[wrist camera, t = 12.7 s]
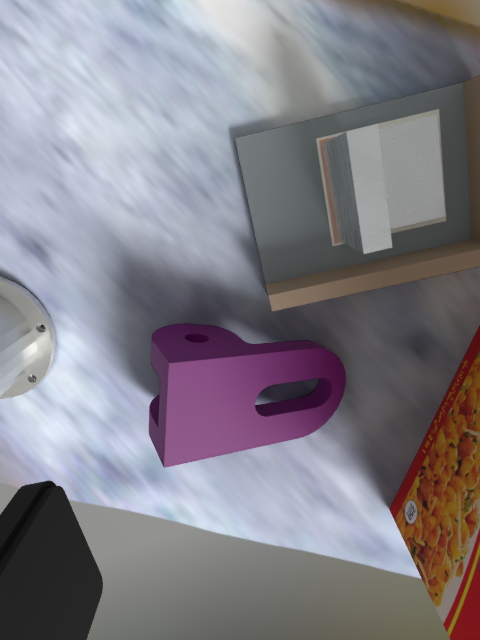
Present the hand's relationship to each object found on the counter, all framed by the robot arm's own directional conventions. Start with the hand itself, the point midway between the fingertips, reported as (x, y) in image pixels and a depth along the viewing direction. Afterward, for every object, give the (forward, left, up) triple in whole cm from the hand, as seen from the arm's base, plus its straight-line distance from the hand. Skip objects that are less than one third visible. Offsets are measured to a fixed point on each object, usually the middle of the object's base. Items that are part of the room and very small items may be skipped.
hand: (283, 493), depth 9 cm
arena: (+11, +3, -30) cm, 32 cm away
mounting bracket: (-2, -11, -31) cm, 33 cm away
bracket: (+12, +4, -29) cm, 32 cm away
